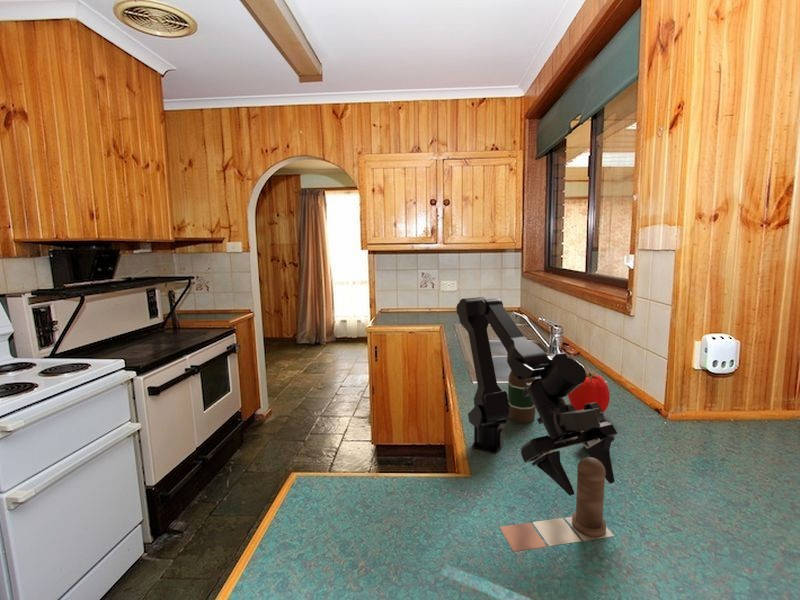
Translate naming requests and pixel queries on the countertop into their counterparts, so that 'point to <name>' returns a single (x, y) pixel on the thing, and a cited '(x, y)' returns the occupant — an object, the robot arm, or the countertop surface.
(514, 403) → the beer bottle
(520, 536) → the board
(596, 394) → the tomato
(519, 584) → the countertop surface
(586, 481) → the pawn
